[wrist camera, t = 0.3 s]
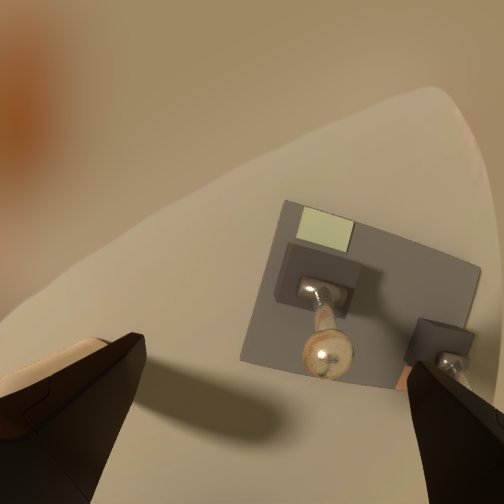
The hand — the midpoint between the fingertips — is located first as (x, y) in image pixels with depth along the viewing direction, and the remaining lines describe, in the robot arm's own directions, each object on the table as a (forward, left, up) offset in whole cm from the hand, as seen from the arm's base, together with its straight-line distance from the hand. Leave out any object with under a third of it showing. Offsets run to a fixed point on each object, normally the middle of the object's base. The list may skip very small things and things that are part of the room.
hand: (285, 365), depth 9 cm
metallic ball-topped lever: (+3, -2, -11) cm, 12 cm away
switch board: (+5, -8, -16) cm, 18 cm away
